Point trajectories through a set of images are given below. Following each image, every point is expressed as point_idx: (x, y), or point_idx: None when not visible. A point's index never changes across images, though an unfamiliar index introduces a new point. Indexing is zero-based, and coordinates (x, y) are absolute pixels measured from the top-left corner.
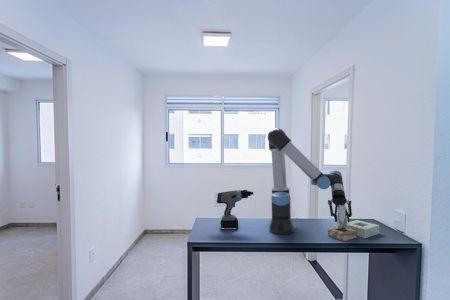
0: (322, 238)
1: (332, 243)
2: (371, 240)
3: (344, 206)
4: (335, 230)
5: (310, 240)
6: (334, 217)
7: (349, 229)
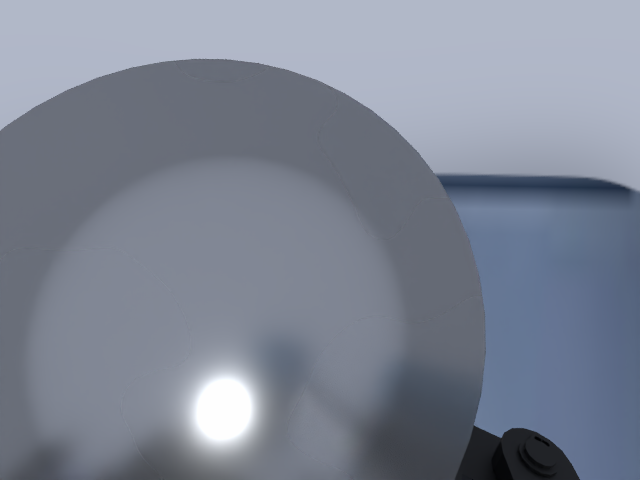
0: (515, 310)
1: (444, 177)
2: None
3: (104, 86)
4: None
5: (636, 254)
6: None
7: None
